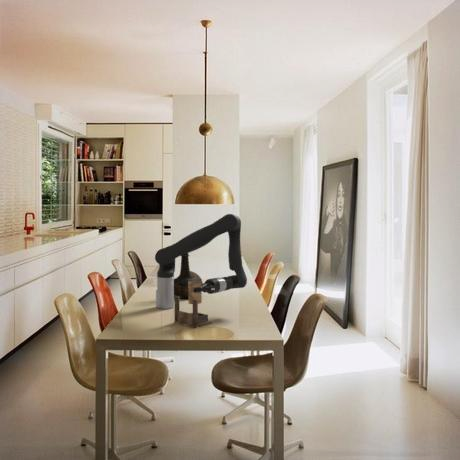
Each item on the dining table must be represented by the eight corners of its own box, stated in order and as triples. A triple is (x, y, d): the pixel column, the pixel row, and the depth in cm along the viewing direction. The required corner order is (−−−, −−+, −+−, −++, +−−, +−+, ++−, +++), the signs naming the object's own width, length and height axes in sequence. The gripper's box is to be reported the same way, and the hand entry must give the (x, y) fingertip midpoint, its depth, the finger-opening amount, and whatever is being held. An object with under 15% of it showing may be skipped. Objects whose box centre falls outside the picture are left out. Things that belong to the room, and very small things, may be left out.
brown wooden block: (188, 303, 264) (188, 279, 264) (195, 302, 268) (195, 278, 267) (194, 304, 262) (193, 280, 261) (201, 303, 265) (201, 278, 264)
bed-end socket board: (173, 322, 266) (173, 296, 265) (191, 318, 274) (191, 293, 273) (194, 328, 255) (194, 301, 254) (212, 323, 264) (212, 297, 263)
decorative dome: (201, 282, 387) (201, 268, 387) (203, 287, 368) (203, 272, 367) (174, 283, 385) (174, 269, 384) (175, 287, 365) (175, 273, 364)
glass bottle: (190, 293, 344) (190, 249, 342) (204, 298, 329) (204, 252, 327) (165, 296, 335) (165, 251, 333) (178, 301, 320) (178, 253, 318)
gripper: (205, 276, 279) (180, 280, 267) (225, 279, 270) (200, 283, 257) (205, 291, 280) (180, 295, 267) (225, 294, 270) (200, 299, 258)
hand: (190, 289), depth 262 cm, fingers closed on brown wooden block, 4 cm apart
